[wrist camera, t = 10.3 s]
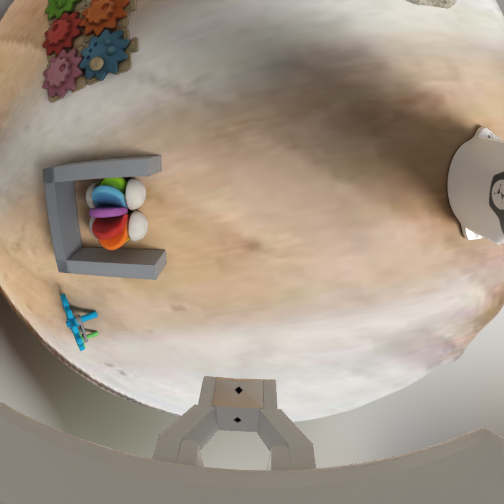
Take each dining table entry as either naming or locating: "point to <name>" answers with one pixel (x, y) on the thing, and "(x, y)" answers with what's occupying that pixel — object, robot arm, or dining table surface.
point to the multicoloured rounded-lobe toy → (116, 211)
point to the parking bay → (67, 224)
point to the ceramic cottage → (434, 3)
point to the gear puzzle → (95, 50)
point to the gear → (77, 321)
